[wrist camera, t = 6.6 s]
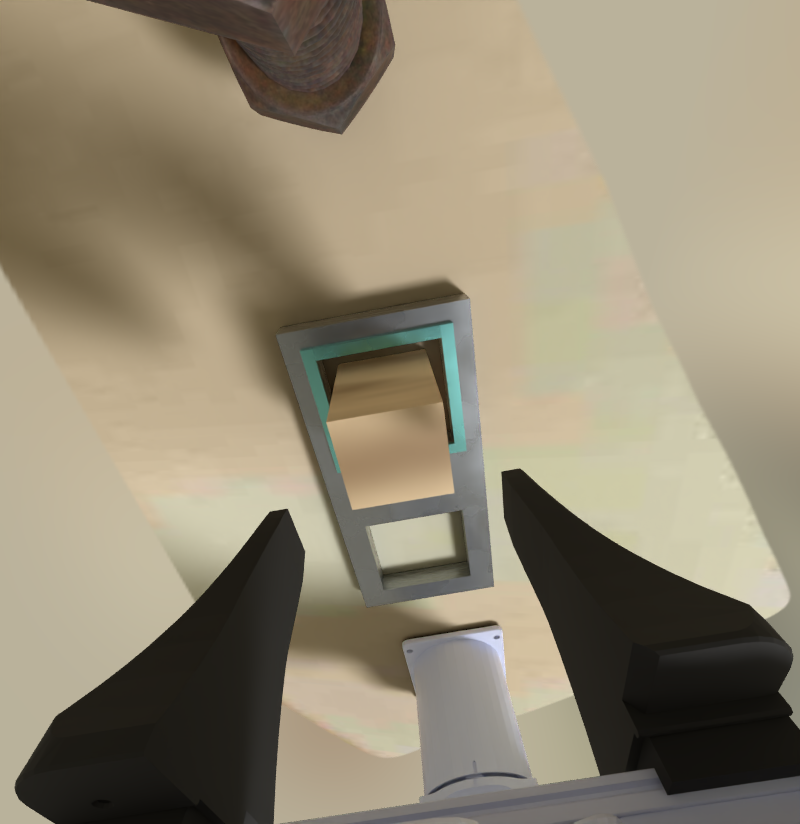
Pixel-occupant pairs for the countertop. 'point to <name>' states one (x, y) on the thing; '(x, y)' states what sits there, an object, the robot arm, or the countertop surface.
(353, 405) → the oak block
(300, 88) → the bolt
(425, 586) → the grey peg insertion board
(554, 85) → the countertop surface
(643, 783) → the robot arm
